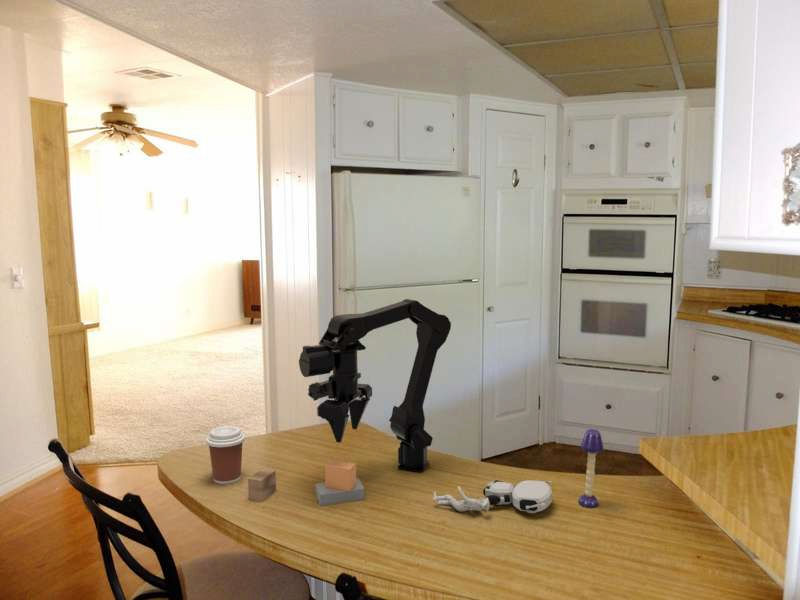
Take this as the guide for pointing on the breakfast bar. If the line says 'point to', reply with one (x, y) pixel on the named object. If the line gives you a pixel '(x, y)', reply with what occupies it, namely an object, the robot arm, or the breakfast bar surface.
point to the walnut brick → (262, 484)
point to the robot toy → (519, 495)
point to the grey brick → (339, 494)
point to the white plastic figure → (462, 502)
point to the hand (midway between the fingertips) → (347, 435)
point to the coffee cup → (226, 453)
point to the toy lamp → (590, 465)
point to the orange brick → (340, 475)
